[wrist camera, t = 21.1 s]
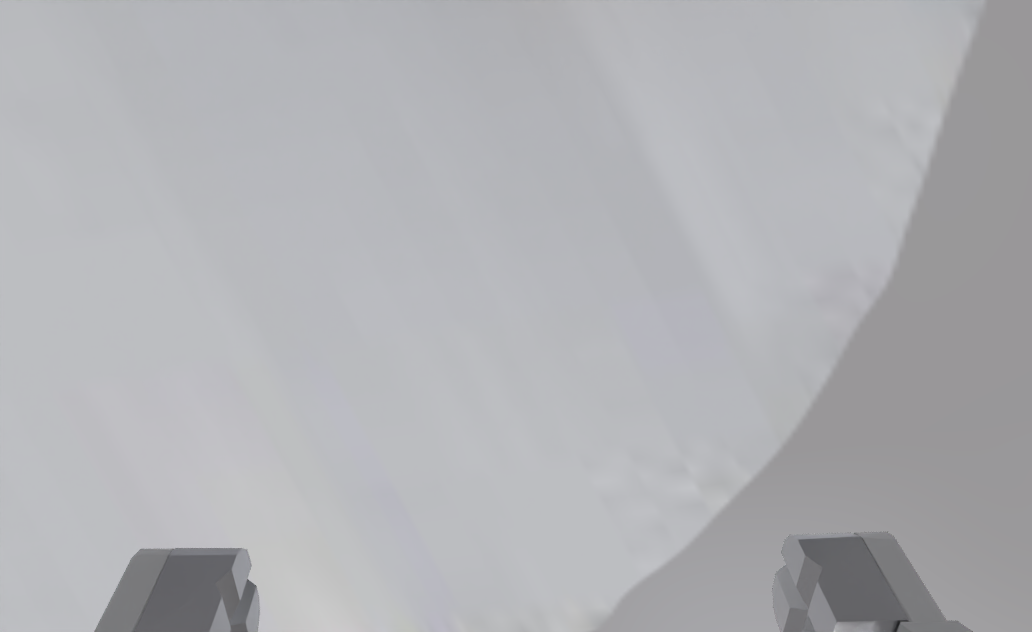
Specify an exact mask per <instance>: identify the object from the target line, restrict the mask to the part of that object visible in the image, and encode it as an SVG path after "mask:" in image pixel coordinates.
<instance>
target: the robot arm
mask: <svg viewBox="0 0 1032 632" xmlns="http://www.w3.org/2000/svg"><path fill="white" fill-rule="evenodd" d="M781 553H782V556H783V558H784V560H785V562H786V565H785V566H783V567H782V568H781V569H780V570H779V571H777V572H776V574H775V579H774V583H773V588H772V591H773V608H774V613H775V617H776V621H777V624H778V626H779V629H780V632H973V631H971V630H970V629H968V628H967V627H965V626H964V625H962V624H961V623H959V622H958V621H947V620H946V618H945V617H944V615H943V614H942V612H941V610H940V609H939V607H938V606H937V604H936V602H935V601H934V599H933V598H932V596H931V594H930V593H929V591H928V590H927V588H926V587H925V585H924V583H923V582H922V580H921V579H920V577H919V575H918V574H917V572H916V571H915V569H914V568H913V566H912V564H911V563H910V561H909V560H908V558H907V557H906V555H905V553H904V552H903V550H902V548H901V547H900V545H899V544H898V542H897V540H896V539H895V537H894V536H892V535H891V534H890V533H888V532H864V533H826V534H797V535H789V536H788V537H787V538H786V539H785V541H784V544H783V548H782V551H781ZM251 566H252V565H251V561H250V558H249V554H248V551H247V550H246V549H243V548H175V549H140V550H139V551H138V552H137V553H136V554H135V555H134V556H133V557H132V558H131V560H130V562H129V564H128V566H127V568H126V570H125V572H124V574H123V576H122V578H121V580H120V582H119V584H118V586H117V588H116V590H115V592H114V594H113V596H112V598H111V600H110V602H109V604H108V606H107V608H106V610H105V612H104V614H103V616H102V618H101V619H100V621H99V623H98V625H97V627H96V629H95V631H94V632H258V624H259V616H260V606H259V595H258V591H257V586H256V585H255V584H253V583H252V582H251V581H249V580H248V579H247V578H248V575H249V572H250V569H251Z"/></svg>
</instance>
